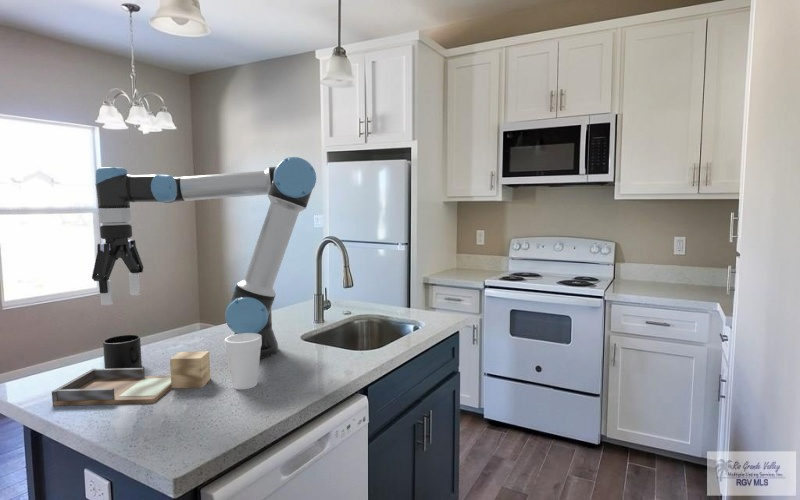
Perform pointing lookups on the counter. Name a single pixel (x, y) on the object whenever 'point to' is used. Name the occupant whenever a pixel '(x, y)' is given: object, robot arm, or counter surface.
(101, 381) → the slot board
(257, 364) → the foam cup
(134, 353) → the mug
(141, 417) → the counter surface
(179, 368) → the oak block
